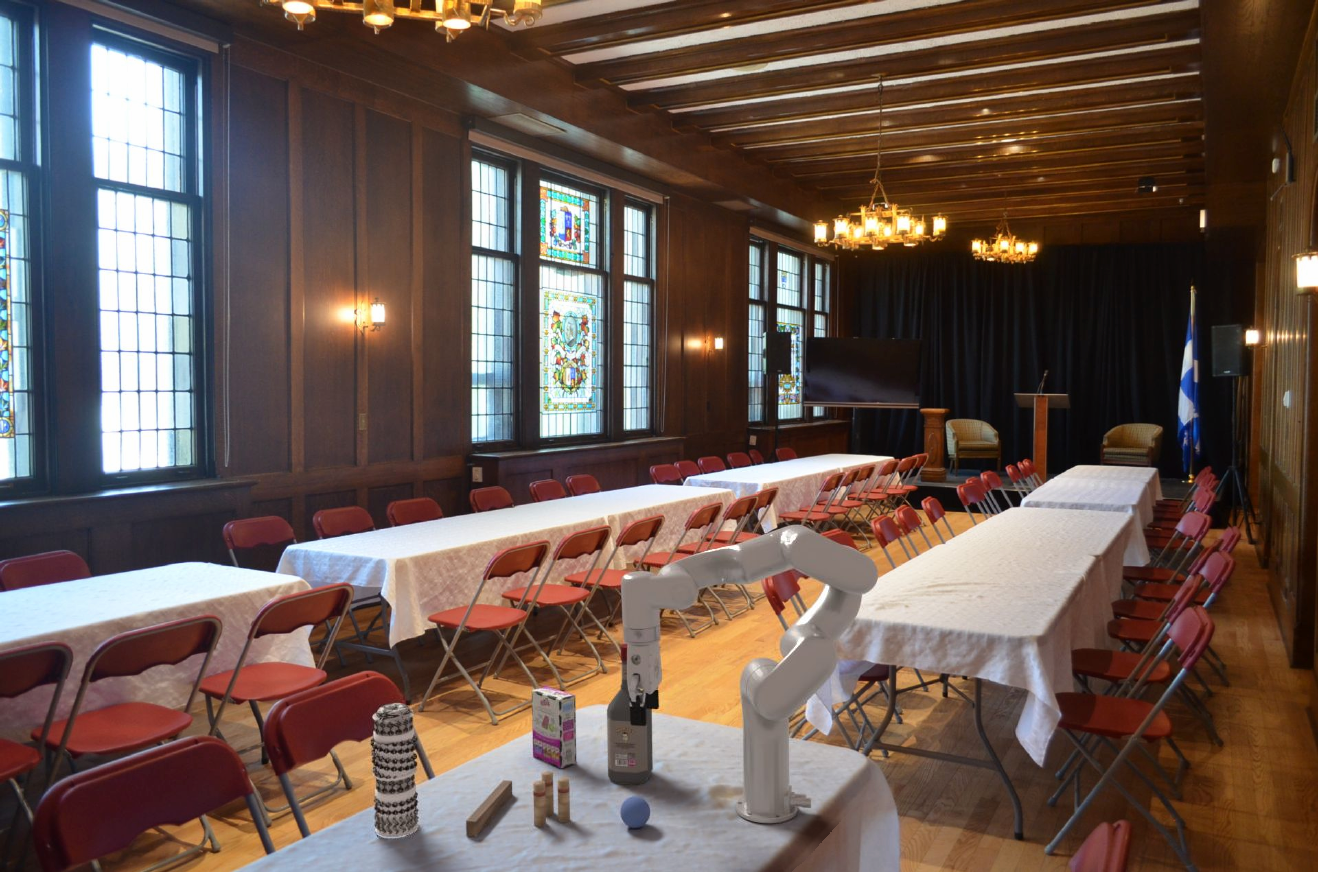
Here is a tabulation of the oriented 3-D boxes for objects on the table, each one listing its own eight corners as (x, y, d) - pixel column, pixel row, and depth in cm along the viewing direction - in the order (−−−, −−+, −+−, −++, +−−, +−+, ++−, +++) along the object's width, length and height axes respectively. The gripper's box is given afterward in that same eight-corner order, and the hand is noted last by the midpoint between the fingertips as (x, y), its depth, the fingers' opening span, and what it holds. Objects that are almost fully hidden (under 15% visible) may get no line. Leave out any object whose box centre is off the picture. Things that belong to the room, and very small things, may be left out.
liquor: (646, 785, 216) (643, 652, 214) (605, 783, 217) (603, 650, 216) (654, 769, 225) (652, 641, 223) (615, 767, 226) (613, 639, 225)
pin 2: (555, 811, 204) (554, 771, 203) (551, 816, 201) (550, 775, 201) (544, 810, 204) (543, 770, 204) (540, 815, 202) (539, 774, 201)
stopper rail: (512, 794, 212) (512, 780, 212) (475, 836, 193) (475, 821, 193) (503, 793, 213) (503, 779, 213) (466, 835, 193) (466, 820, 193)
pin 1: (547, 821, 199) (546, 780, 198) (543, 827, 196) (542, 785, 196) (536, 820, 199) (535, 779, 199) (532, 826, 197) (531, 784, 196)
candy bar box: (578, 763, 229) (576, 694, 228) (561, 769, 225) (559, 699, 224) (548, 751, 237) (547, 684, 236) (531, 756, 233) (530, 689, 232)
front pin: (571, 818, 200) (570, 777, 200) (568, 823, 198) (567, 782, 197) (560, 817, 201) (559, 776, 200) (556, 822, 198) (555, 781, 198)
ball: (653, 820, 198) (652, 792, 198) (646, 834, 193) (646, 804, 192) (624, 818, 200) (624, 789, 199) (617, 831, 194) (616, 802, 193)
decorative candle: (373, 842, 191) (369, 717, 189) (373, 822, 200) (369, 702, 198) (421, 836, 193) (417, 712, 192) (419, 816, 202) (415, 697, 201)
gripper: (648, 645, 188) (652, 733, 189) (670, 623, 204) (673, 703, 205) (611, 644, 190) (615, 731, 191) (635, 622, 206) (638, 701, 207)
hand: (645, 716), depth 198 cm, fingers open, 9 cm apart
